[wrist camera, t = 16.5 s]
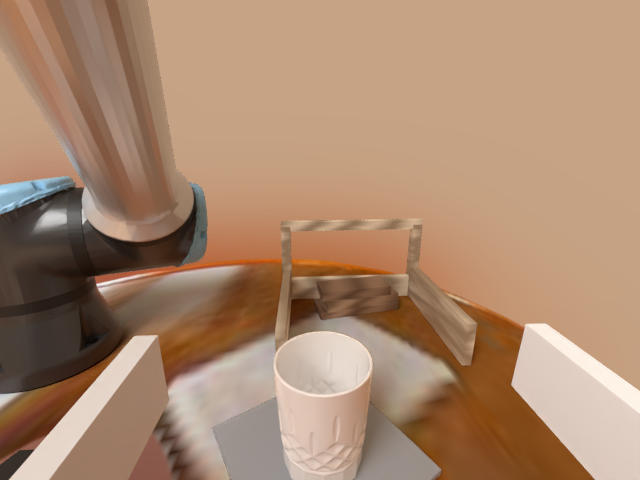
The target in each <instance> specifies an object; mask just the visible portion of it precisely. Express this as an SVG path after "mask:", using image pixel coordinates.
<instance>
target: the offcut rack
mask: <svg viewBox="0 0 640 480" xmlns="http://www.w3.org/2000/svg"><path fill="white" fill-rule="evenodd" d="M380 229H381V230H383V229H410V235H409V247H408V259H407V272H406V274H387V275H350V276H313V277H292V263H291V231H323V230H325V231H326V230H380ZM421 233H422V220H421V219H378V220H377V219H375V220H311V221H310V220H308V221H281V244H282V270H283V278H282V285H281V292H280V300H279V307H278V314H277V321H276V328H275V342H276V352H277V351H278V349H279V348H280V347H281V346H282V345H283V344H284V343H285V342H287V341H288V340H289V329H290V312H291V300H292V299H319V298H320V295H319V293H318V291H317V281H324V280H336V279H348V278H359V277H371V276H381V277H382V278H383V279H384V280H385V281H386V282H387V283H388V284H389V285H390V286H391V288H393V289H394V290H395V291H396V292H398V293H399V295H398V296H409V297H410V299H411V300H412V301H413V303H414V304H415V305H416V307H417V308H418V309H419V310H420V312H421V313H422V314H423V316H424V317H425V318H426V320H427V321H428V322H429V323H430V325H431V326H432V327H433V329H434V330H435V331H436V333H437V334H438V335H439V337H440V338H441V339H442V340H443V342H444V343H445V344H446V346H447V347H448V348H449V350H450V351H451V352H452V353H453V355H454V356H455V357H456V359H457V360H458V361H459V363H460V364H461V365H462V366H465V365H471V361H472V355H473V349H474V342H475V336H476V330H477V323H476V322H475V321H474V320H473V319H472V318H471V317H470V316H469V315H467V314H466V313H465V312H464V311H463V310H462V309H461V308H460V307H459V306H458V305H457V304H456V303H455V302H454V301H453V300H452V299H451V298H450V297H449V296H448V295H447V294H445V293H444V292H443V291H442V290H441V289H440V288H439V287H438V286H437V285H436V284H435V283H434V282H433V281H432V280H431V279H430V278H429V277H428V276H427V275H426V274H425V273H424V272H422V271H421V270H420V269H419V268H418V266H419V255H420V244H421Z"/></svg>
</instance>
